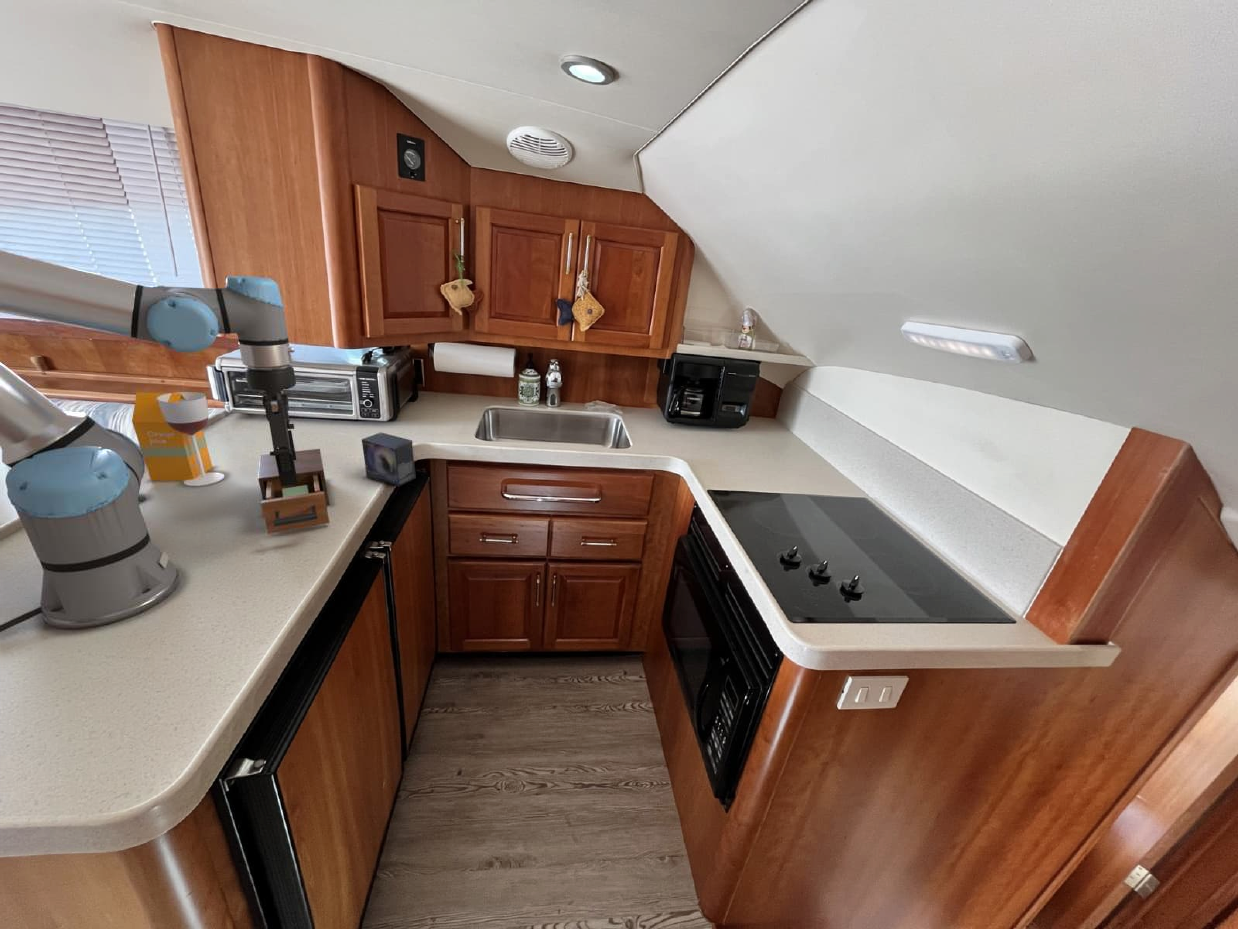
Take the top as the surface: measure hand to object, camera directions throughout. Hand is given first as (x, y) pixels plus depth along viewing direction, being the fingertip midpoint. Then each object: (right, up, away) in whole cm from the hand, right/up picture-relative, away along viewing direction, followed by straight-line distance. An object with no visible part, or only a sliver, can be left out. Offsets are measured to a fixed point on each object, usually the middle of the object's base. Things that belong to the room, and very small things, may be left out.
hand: (289, 472), depth 99 cm
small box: (+9, -2, +25) cm, 27 cm away
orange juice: (-38, -1, +18) cm, 42 cm away
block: (-1, -8, +4) cm, 9 cm away
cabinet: (-7, -6, +13) cm, 15 cm away
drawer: (+1, -10, +2) cm, 10 cm away
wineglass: (-32, -2, +17) cm, 36 cm away
